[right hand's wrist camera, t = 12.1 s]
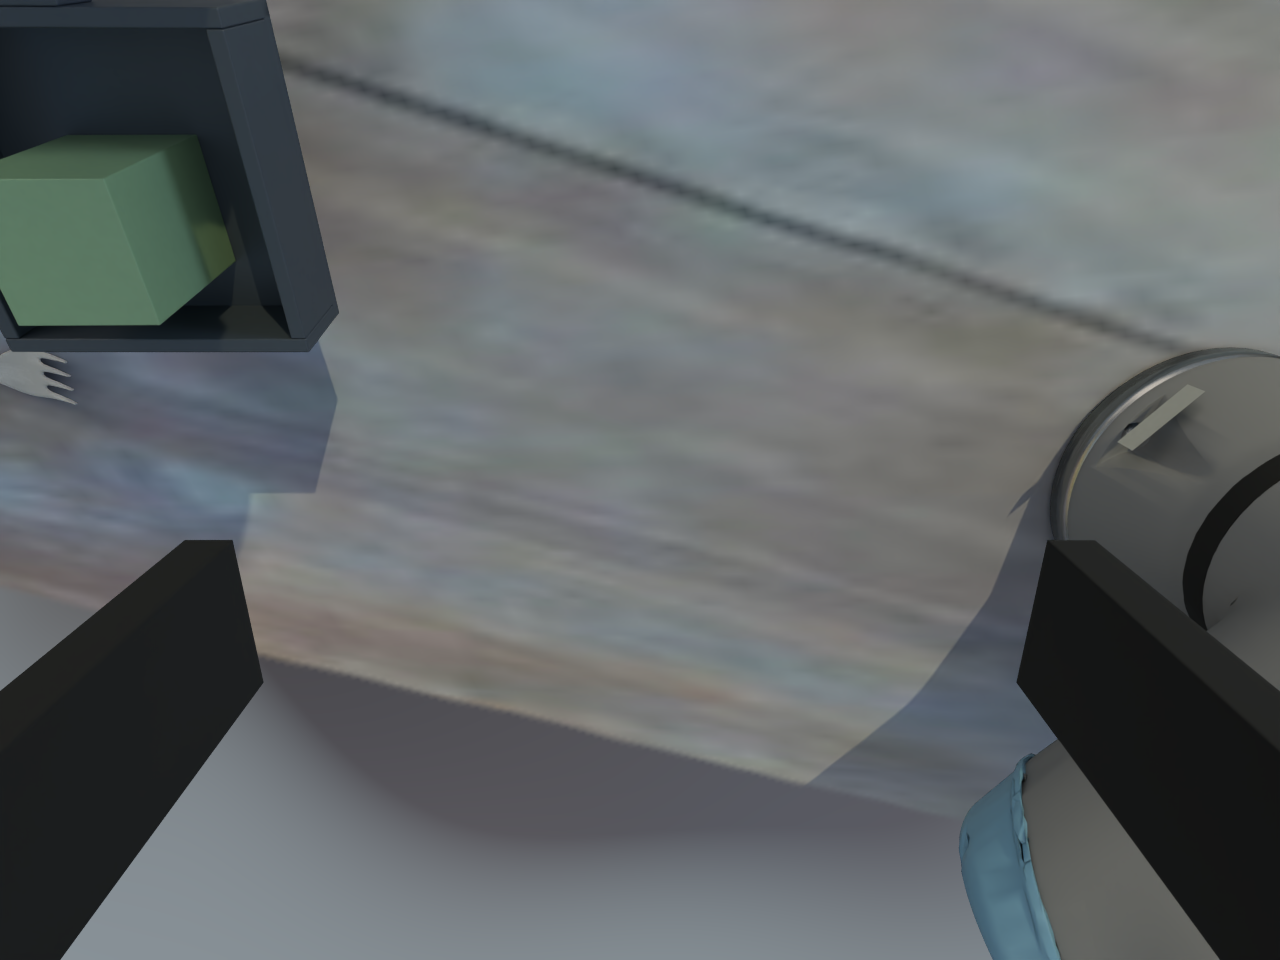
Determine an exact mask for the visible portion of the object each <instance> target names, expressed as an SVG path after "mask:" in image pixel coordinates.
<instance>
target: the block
mask: <svg viewBox="0 0 1280 960" xmlns="http://www.w3.org/2000/svg"><path fill="white" fill-rule="evenodd" d="M235 261H236V260H235V257H234V254H233V250H232V247H231V244H230V241H229V237H228V234H227V231H226V228H225V225H224V221H223V218H222V215H221V212H220V208H219V205H218V202H217V199H216V195H215V192H214V189H213V186H212V183H211V179H210V176H209V173H208V170H207V166H206V163H205V160H204V157H203V154H202V150H201V147H200V144H199V141H198V137H197V135H66V136H63V137H60V138H58V139H55V140H52V141H49V142H47V143H44V144H41V145H39V146H36V147H33V148H30V149H28V150H25V151H22V152H19V153H17V154H14V155H11V156H8V157H6V158H3V159H0V289H1V291H2V293H3V295H4V297H5V299H6V301H7V303H8V305H9V307H10V309H11V311H12V313H13V315H14V317H15V319H16V321H17V323H18V325H19V326H82V325H161V324H162V323H163V322H164V321H165V320H167V319H168V318H169V317H170V316H171V315H173V314H174V313H175V312H176V311H177V310H178V309H180V308H181V307H182V306H183V305H184V304H186V303H187V302H188V301H189V300H190V299H192V298H193V297H194V296H195V295H196V294H197V293H199V292H200V291H201V290H202V289H203V288H205V287H206V286H207V285H208V284H209V283H211V282H212V281H213V280H214V279H215V278H217V277H218V276H219V275H220V274H221V273H222V272H224V271H225V270H226V269H227V268H228V267H230V266H231V265H232V264H233V263H234V262H235Z"/></svg>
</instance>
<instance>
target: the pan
mask: <svg viewBox="0 0 1280 960" xmlns="http://www.w3.org/2000/svg"><path fill="white" fill-rule="evenodd" d="M66 135H197V137H198V141H199V144H200V147H201V150H202V154H203V157H204V160H205V163H206V166H207V170H208V173H209V176H210V179H211V183H212V186H213V189H214V192H215V195H216V199H217V202H218V205H219V208H220V212H221V215H222V218H223V221H224V225H225V228H226V231H227V234H228V237H229V241H230V244H231V247H232V250H233V254H234V257H235V260H236V261H235V262H234V263H233V264H232V265H231V266H230V267H228V268H227V269H226V270H225V271H224V272H222V273H221V274H220V275H219V276H218V277H217V278H215V279H214V280H213V281H212V282H211V283H209V284H208V285H207V286H206V287H205V288H203V289H202V290H201V291H200V292H199V293H197V294H196V295H195V296H194V297H193V298H192V299H190V300H189V301H188V302H187V303H186V304H184V305H183V306H182V307H181V308H180V309H178V310H177V311H176V312H175V313H174V314H173V315H171V316H170V317H169V318H168V319H167V320H165V321H164V322H163V323H162V324H161V325H82V326H19V325H18V323H17V321H16V319H15V317H14V315H13V313H12V311H11V309H10V307H9V305H8V303H7V301H6V299H5V297H4V295H3V293H2V291H1V289H0V330H1V332H2V334H3V336H4V337H5V338H7V339H6V342H7V343H8V345H9V347H10V349H11V351H12V352H309V351H310V350H311V349H312V347H313V346H314V345H315V343H316V342H317V341H318V339H319V338H320V337H321V336H322V334H323V333H324V332H325V330H326V329H327V328H328V326H329V325H330V324H331V322H332V321H333V320H334V318H335V317H336V316H337V315H338V313H339V311H338V306H337V302H336V298H335V293H334V289H333V285H332V281H331V276H330V272H329V268H328V263H327V259H326V255H325V251H324V246H323V242H322V238H321V234H320V229H319V225H318V221H317V216H316V212H315V208H314V204H313V199H312V195H311V191H310V186H309V182H308V178H307V174H306V169H305V165H304V161H303V157H302V152H301V148H300V144H299V139H298V135H297V131H296V127H295V122H294V118H293V114H292V109H291V105H290V101H289V97H288V92H287V88H286V84H285V80H284V75H283V71H282V67H281V62H280V58H279V54H278V50H277V45H276V41H275V37H274V32H273V28H272V24H271V20H270V15H269V11H268V7H267V3H266V0H0V159H3V158H6V157H8V156H11V155H14V154H17V153H19V152H22V151H25V150H28V149H30V148H33V147H36V146H39V145H41V144H44V143H47V142H49V141H52V140H55V139H58V138H60V137H63V136H66Z"/></svg>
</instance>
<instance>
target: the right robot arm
mask: <svg viewBox="0 0 1280 960" xmlns="http://www.w3.org/2000/svg"><path fill="white" fill-rule="evenodd" d="M1050 515H1051V525H1052V531H1053V535H1054V538H1055V540H1047V545H1046V549H1045V554H1044V559H1043V563H1042V568H1041V572H1040V577H1039V582H1038V586H1037V591H1036V595H1035V600H1034V605H1033V609H1032V614H1031V618H1030V623H1029V628H1028V632H1027V637H1026V641H1025V646H1024V651H1023V655H1022V660H1021V664H1020V669H1019V674H1018V678H1017V684H1018V685H1019V686H1020V688H1021V689H1022V691H1023V692H1024V693H1025V695H1026V696H1027V697H1028V699H1029V700H1030V701H1031V703H1032V704H1033V706H1034V707H1035V708H1036V710H1037V711H1038V712H1039V714H1040V715H1041V716H1042V718H1043V719H1044V721H1045V722H1046V723H1047V725H1048V726H1049V727H1050V729H1051V730H1052V732H1053V733H1054V734H1055V736H1056V737H1057V738H1058V739H1057V740H1056V741H1055V742H1053V743H1052V744H1050V745H1049V746H1048V747H1046V748H1045V749H1044V750H1042V751H1041V752H1039V753H1038V754H1037V755H1034V754H1029V755H1027V756H1025V757H1024V758H1022V759H1021V760H1020V761H1019V762H1018V764H1017V765H1016V768H1015V771H1014V772H1013V773H1012V774H1010V775H1009V776H1008V777H1007V778H1006V779H1004V780H1003V781H1002V782H1001V783H1000V784H998V785H997V786H996V787H995V788H993V789H992V790H991V791H990V792H989V793H987V794H986V795H985V796H984V797H983V798H981V799H980V800H979V801H978V802H976V803H975V804H974V805H973V806H972V808H971V809H970V810H969V812H968V813H967V815H966V817H965V819H964V821H963V824H962V827H961V831H960V845H959V853H960V858H961V866H962V871H961V872H962V876H963V880H964V884H965V888H966V892H967V896H968V899H969V902H970V905H971V908H972V911H973V913H974V916H975V919H976V922H977V924H978V927H979V929H980V932H981V934H982V936H983V939H984V941H985V943H986V946H987V948H988V950H989V952H990V954H991V957H992V959H993V960H1280V356H1277V355H1274V354H1270V353H1267V352H1263V351H1259V350H1253V349H1247V348H1215V349H1207V350H1201V351H1196V352H1192V353H1188V354H1184V355H1181V356H1178V357H1175V358H1172V359H1169V360H1167V361H1164V362H1162V363H1160V364H1157V365H1155V366H1153V367H1151V368H1149V369H1147V370H1145V371H1143V372H1142V373H1140V374H1138V375H1137V376H1135V377H1134V378H1132V379H1130V380H1129V381H1127V382H1126V383H1125V384H1123V385H1122V386H1120V387H1119V388H1118V389H1116V390H1115V391H1114V392H1113V393H1112V394H1110V395H1109V396H1108V397H1107V398H1106V399H1105V400H1104V401H1103V402H1102V403H1101V404H1100V405H1099V406H1098V407H1097V408H1096V409H1095V410H1094V411H1093V412H1092V413H1091V414H1090V415H1089V416H1088V418H1087V419H1086V420H1085V421H1084V422H1083V424H1082V425H1081V426H1080V428H1079V429H1078V431H1077V432H1076V433H1075V435H1074V436H1073V438H1072V440H1071V441H1070V443H1069V445H1068V446H1067V448H1066V450H1065V452H1064V455H1063V457H1062V459H1061V461H1060V464H1059V466H1058V469H1057V472H1056V475H1055V479H1054V483H1053V487H1052V493H1051V504H1050ZM262 684H263V678H262V674H261V669H260V664H259V660H258V655H257V651H256V646H255V641H254V637H253V632H252V628H251V623H250V618H249V614H248V609H247V605H246V600H245V595H244V591H243V586H242V582H241V577H240V572H239V568H238V563H237V559H236V554H235V549H234V545H233V540H185V541H183V542H182V543H181V544H180V545H178V546H177V547H176V548H175V549H174V550H172V551H171V552H170V553H169V554H167V555H166V556H165V557H164V558H163V559H161V560H160V561H159V562H158V563H156V564H155V565H154V566H153V567H152V568H150V569H149V570H148V571H147V572H145V573H144V574H143V575H142V576H141V577H139V578H138V579H137V580H136V581H134V582H133V583H132V584H131V585H130V586H128V587H127V588H126V589H125V590H123V591H122V592H121V593H120V594H118V595H117V596H116V597H115V598H114V599H112V600H111V601H110V602H109V603H107V604H106V605H105V606H104V607H103V608H101V609H100V610H99V611H98V612H96V613H95V614H94V615H93V616H92V617H90V618H89V619H88V620H87V621H85V622H84V623H83V624H82V625H81V626H79V627H78V628H77V629H76V630H74V631H73V632H72V633H71V634H70V635H68V636H67V637H66V638H65V639H63V640H62V641H61V642H60V643H58V644H57V645H56V646H55V647H54V648H52V649H51V650H50V651H49V652H47V653H46V654H45V655H44V656H43V657H41V658H40V659H39V660H38V661H36V662H35V663H34V664H33V665H32V666H30V667H29V668H28V669H27V670H25V671H24V672H23V673H22V674H21V675H19V676H18V677H17V678H16V679H14V680H13V681H12V682H11V683H10V684H8V685H7V686H6V687H5V688H3V689H2V690H1V691H0V960H60V959H61V958H62V957H63V955H64V954H65V953H66V951H67V950H68V949H69V947H70V946H71V944H72V943H73V942H74V940H75V939H76V938H77V936H78V935H79V933H80V932H81V931H82V929H83V928H84V927H85V925H86V924H87V923H88V921H89V920H90V918H91V917H92V916H93V914H94V913H95V912H96V910H97V909H98V908H99V906H100V905H101V903H102V902H103V901H104V899H105V898H106V897H107V895H108V894H109V893H110V891H111V890H112V888H113V887H114V886H115V884H116V883H117V882H118V880H119V879H120V878H121V876H122V875H123V873H124V872H125V871H126V869H127V868H128V867H129V865H130V864H131V863H132V861H133V860H134V858H135V857H136V856H137V854H138V853H139V852H140V850H141V849H142V847H143V846H144V845H145V843H146V842H147V841H148V839H149V838H150V836H151V835H152V834H153V833H154V831H155V830H156V828H157V827H158V826H159V824H160V823H161V822H162V820H163V819H164V817H165V816H166V815H167V813H168V812H169V811H170V809H171V808H172V807H173V805H174V804H175V802H176V801H177V800H178V798H179V797H180V796H181V794H182V793H183V792H184V790H185V789H186V787H187V786H188V785H189V783H190V782H191V781H192V779H193V778H194V776H195V775H196V774H197V772H198V771H199V770H200V768H201V767H202V766H203V764H204V763H205V761H206V760H207V759H208V757H209V756H210V755H211V753H212V752H213V751H214V749H215V748H216V747H217V745H218V744H219V742H220V741H221V740H222V738H223V737H224V735H225V734H226V733H227V732H228V730H229V729H230V727H231V726H232V725H233V723H234V722H235V721H236V719H237V718H238V716H239V715H240V714H241V712H242V711H243V710H244V708H245V707H246V706H247V704H248V703H249V701H250V700H251V699H252V697H253V696H254V695H255V693H256V692H257V691H258V689H259V688H260V686H261V685H262Z"/></svg>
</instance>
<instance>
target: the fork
mask: <svg viewBox="0 0 1280 960" xmlns="http://www.w3.org/2000/svg"><path fill="white" fill-rule="evenodd" d="M41 358H45V359H50V360H55V361H59V362H63V363H68V361H66V360H64V359H61V358H59V357H57V356H54V355H52V354H49V353H46V352H12V351H11V350H9V351H7V352H5V353H3V354H1V355H0V383H1V384H3V385H5V386H8V387H10V388H13V389H15V390H18V391H20V392H23V393H26V394H29V395H33V396H38V397H46V398H53V399H57V400H61V401H65V402H68V403H72V404H74V405H77V404H78V403H77V402H75V401H73V400H71V399H69V398H66V397H64V396H62V395H59V394H57V393H54V392H52V391H50V390H49V389H48V388H47V386H48V385H51V386H55V387H60V388H63V389H67V390H70V391H74V389H73V388H71V387H69V386H66V385H64V384H62V383H60V382H57V381H55V380H52V379H50V378H47V377H46V376H45V375H44V372H50V373H55V374H59V375H63V376H66V377H71V375H69V374H67V373H65V372H62V371H60V370H58V369H55V368H53V367H50V366H48V365H45V364H43V363H42V362H41V360H40V359H41Z"/></svg>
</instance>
